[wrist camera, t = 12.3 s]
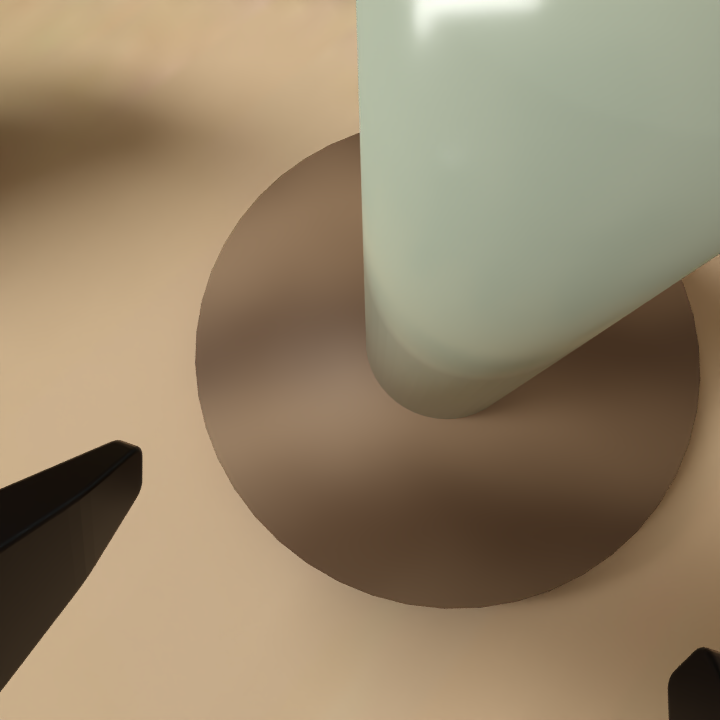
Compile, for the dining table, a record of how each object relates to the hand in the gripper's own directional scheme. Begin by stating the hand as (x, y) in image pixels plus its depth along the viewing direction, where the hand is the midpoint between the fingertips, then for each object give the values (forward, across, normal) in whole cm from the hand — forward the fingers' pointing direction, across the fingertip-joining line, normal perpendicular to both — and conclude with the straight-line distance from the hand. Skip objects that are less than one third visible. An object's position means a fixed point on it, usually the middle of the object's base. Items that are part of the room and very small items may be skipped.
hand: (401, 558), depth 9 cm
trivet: (+11, 0, +2) cm, 11 cm away
